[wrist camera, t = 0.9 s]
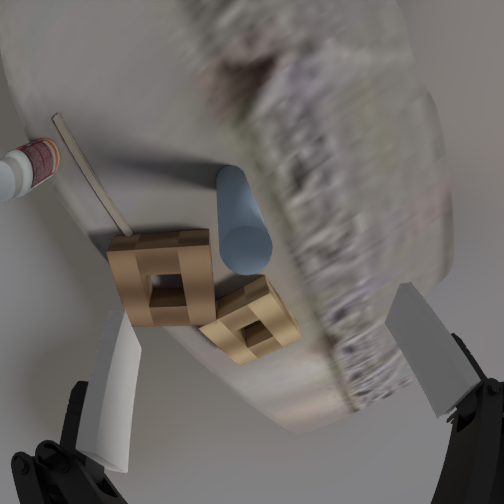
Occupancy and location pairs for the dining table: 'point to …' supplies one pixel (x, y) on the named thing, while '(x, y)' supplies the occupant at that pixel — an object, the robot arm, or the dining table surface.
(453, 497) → the robot arm
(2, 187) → the pill bottle
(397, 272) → the dining table surface
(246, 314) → the light wood square frame
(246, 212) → the blue-grey peg
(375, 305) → the dining table surface
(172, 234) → the square wooden ring
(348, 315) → the dining table surface
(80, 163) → the thin wooden stick
